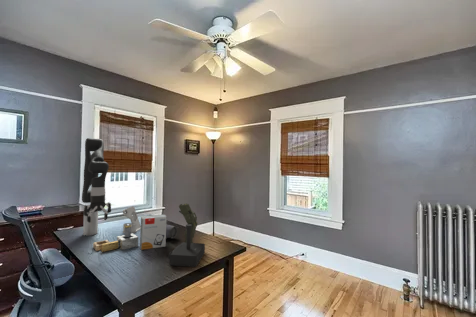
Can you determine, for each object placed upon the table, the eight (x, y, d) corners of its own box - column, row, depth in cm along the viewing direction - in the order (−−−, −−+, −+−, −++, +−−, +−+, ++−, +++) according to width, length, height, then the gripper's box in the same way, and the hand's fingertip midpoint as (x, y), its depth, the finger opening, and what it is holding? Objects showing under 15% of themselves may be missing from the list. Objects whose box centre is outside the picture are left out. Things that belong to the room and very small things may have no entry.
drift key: (101, 250, 141) (101, 244, 141) (117, 247, 148) (117, 240, 148) (102, 252, 140) (102, 245, 140) (118, 248, 146) (118, 241, 146)
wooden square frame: (93, 247, 148) (93, 242, 148) (107, 244, 153) (107, 239, 153) (96, 250, 142) (96, 246, 142) (110, 247, 148) (110, 242, 148)
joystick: (179, 252, 143) (179, 220, 143) (205, 253, 141) (205, 221, 141) (166, 266, 124) (167, 229, 124) (196, 268, 122) (196, 230, 122)
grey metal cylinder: (123, 245, 151) (123, 224, 151) (129, 244, 154) (129, 223, 154) (125, 247, 148) (125, 225, 149) (131, 245, 151) (131, 224, 151)
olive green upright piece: (203, 246, 150) (194, 201, 153) (198, 250, 143) (189, 203, 146) (185, 248, 155) (177, 204, 157) (179, 252, 148) (171, 206, 150)
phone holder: (134, 233, 178) (134, 210, 178) (121, 232, 178) (122, 209, 178) (143, 226, 195) (144, 205, 195) (132, 226, 195) (132, 205, 196)
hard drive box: (140, 250, 144) (141, 218, 144) (139, 246, 151) (140, 216, 151) (166, 246, 151) (166, 216, 151) (164, 242, 158) (164, 214, 158)
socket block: (116, 245, 151) (117, 236, 151) (132, 242, 158) (132, 233, 158) (121, 250, 144) (122, 240, 144) (138, 246, 151) (138, 237, 151)
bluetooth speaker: (144, 237, 169) (144, 223, 169) (153, 233, 177) (153, 220, 177) (169, 241, 160) (169, 227, 160) (177, 237, 169) (177, 224, 169)
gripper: (109, 192, 147) (108, 218, 146) (82, 194, 136) (82, 222, 136) (112, 194, 141) (112, 220, 141) (85, 196, 131) (85, 224, 131)
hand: (97, 221), depth 138 cm, fingers open, 8 cm apart
